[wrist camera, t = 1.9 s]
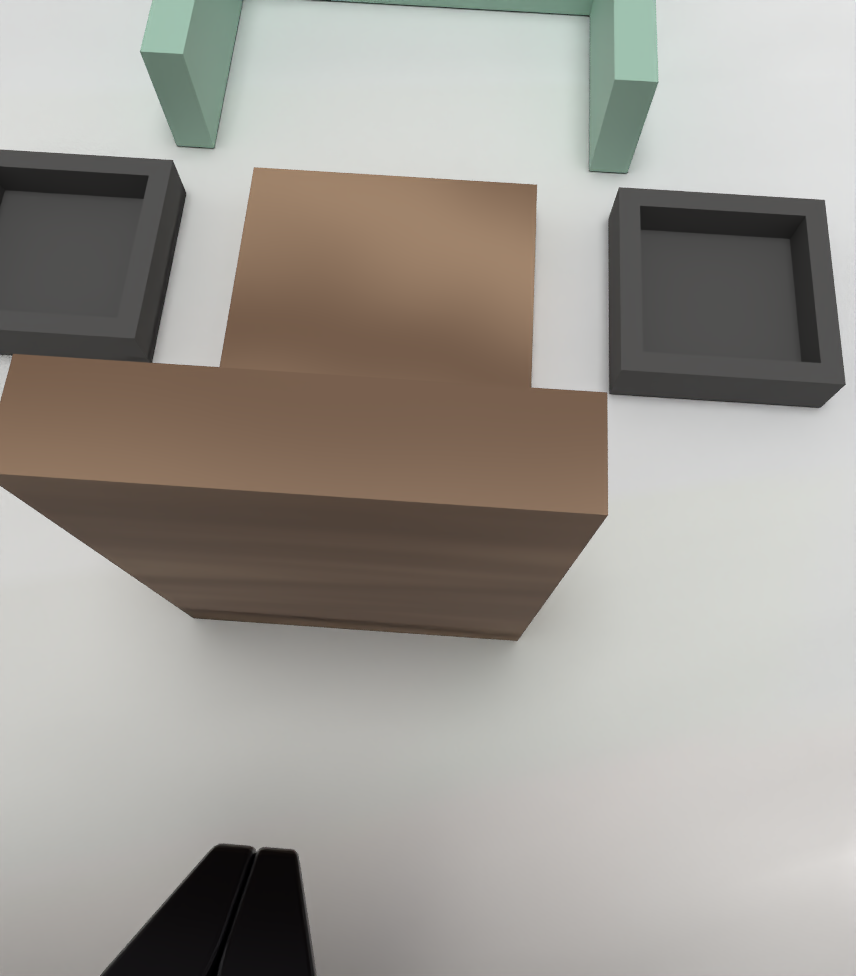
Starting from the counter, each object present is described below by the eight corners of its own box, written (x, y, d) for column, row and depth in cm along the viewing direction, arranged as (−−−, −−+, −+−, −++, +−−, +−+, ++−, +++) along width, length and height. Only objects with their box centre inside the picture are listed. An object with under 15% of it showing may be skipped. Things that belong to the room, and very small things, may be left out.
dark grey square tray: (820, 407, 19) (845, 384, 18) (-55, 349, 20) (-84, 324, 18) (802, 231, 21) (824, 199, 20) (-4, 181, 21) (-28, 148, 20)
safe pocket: (627, 173, 22) (658, 81, 19) (177, 145, 22) (140, 51, 19) (624, -21, 24) (650, -128, 21) (217, -44, 24) (190, -154, 21)
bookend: (517, 641, 17) (608, 515, 9) (193, 618, 18) (-19, 472, 9) (531, 216, 21) (604, -159, 13) (262, 199, 21) (156, -184, 13)
